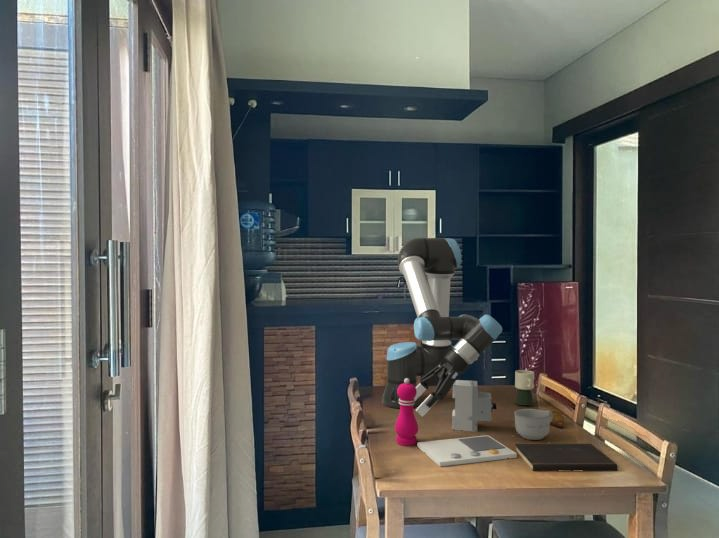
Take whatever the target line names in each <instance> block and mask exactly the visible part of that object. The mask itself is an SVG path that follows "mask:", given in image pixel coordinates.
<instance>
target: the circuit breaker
mask: <svg viewBox="0 0 719 538" xmlns="http://www.w3.org/2000/svg"><path fill="white" fill-rule="evenodd" d="M478 387H479V384H478V381H477V380H463V379H462V380H461V379H457V380H456V381H455V382H454V384H453V385H452V395H451V396H452V397H451V398H452V399H454V409H452V415H451V416H452V417H451V430H452V431H460V430H463V431H464V432H474V431H477V432H478V421H481V422H492V413H493V410H497V403H495V402H493V400H492V393H491V392H485V391H478V389H479V388H478ZM453 429H455V430H453ZM463 431H462V432H463Z"/></svg>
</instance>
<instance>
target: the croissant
mask: <svg viewBox="0 0 719 538" xmlns="http://www.w3.org/2000/svg"><path fill="white" fill-rule="evenodd" d="M548 411H551V412H552V415H553V418H552V421H551V422H550V423H549V425H552V426H553V427H555V426H556V427H555V428H558V429H563V428H564V426H565V417H564V415H563V413H562V411H559V410H557V409H555V408H554V409H550V410H548Z"/></svg>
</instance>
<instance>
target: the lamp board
mask: <svg viewBox="0 0 719 538" xmlns="http://www.w3.org/2000/svg"><path fill="white" fill-rule="evenodd" d="M416 444H417V447H418V448H419V449H420V450H421V451H422V452H423V453H424V452H425V453H426V454H425V453H424V454H425V455H426V456H428V458H430V459H431V460H432V461H433V462H434V463H435V464H436V465H438V466H439V467H440V468H441V467H448V466H455V465H464V464H473V463H474V464H475V463H482V462H488V461H489V462H490V461H499V460H500V461H501V460H507V458H509V459H516V458H518V456H517V455H518V454H517V453H518V452H516V451H513V450H512V449H511V448H510V447H507V446H506V445H504V444H502V443H501V442H499V441H498V440H496V439H495V438H493V437H492V436H490V435H489V434H488V435H475V436H466V437H457V438H448V439H438V440H437V439H436V440H427V441H420V442H419V441H418V442H417V443H416Z"/></svg>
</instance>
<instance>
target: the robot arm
mask: <svg viewBox="0 0 719 538" xmlns="http://www.w3.org/2000/svg"><path fill="white" fill-rule="evenodd" d="M461 252H462V251H461V248H460V245H459V244H458V242H457V240H455V239H453V238H449V237H448V238H447V237H446V238H445V237H414V238H412V239H410V240H408V241H407V242H406V243H404V244H403V246H402V247H401V249H400V250H399V252H398V255H397V266H398V269H399V272H400V274H401V275H403V276H404V279H405V281H406V282H405V283H406V286H407V288H408V291H409V295H410V298H411V301H412V304H413V307H414V308H413V309H414V310H415V313H416V318H415V320H414V323H413V331H414V337H415V339H417V340H418V341H421V345H418V344H417V342H414V341H409V342H408V341H405V342H398V343H394V344H391V345H390V346H388V347H387V351H386V385H385V389H384V392H383V394H382V399H381V400H382V401H381V404H382V405H383V406H385V407H389V408H394V409H400V404H399V398H400V397H399V396H398V394H397V389H398V387H399V385H401V384H403V383H404V379H406V378H408V379H409V380H410V382H409V383H410V384H413V385H414V386H415V388H416V391H417V393H416V396H415V397H414V399H415V404H414V405H413V407H414V408H416V409H415V411H416V413H418V415H420V416H421V417H424V416H425V415H426V414H427V413H428V412H429V410H431V408H432V407H434V406H435V404H436V403H437V402H439V401H441V402H442V401H444V400H445V399H446V396H447V395H448V393H449V392H450V391H451V388H453V384H454V382H455V381H456V380H459V378H460V375H462V374H464V373H465V372H466V371H467V370H468V369H469V368H470V367H469V366H470V365H472V364H473V363H474V362H475V361H478V360H479V359H478V358H479V357H480V356H481V355H482V354H483V353H484V352H486V350H487V349H488V347H490V345H492V343H493V342H494V341H496V340H497V338H498V337H499V336H500V334H501V333H502V332H503V327H502V325H501V324H500V323H499V322H498V321H497V320H496V319H495V318H493V316H491V315H489V314H484V315H483V316H481V317H480V318H479V319H478V318H476V317H475V316H473V315H470V314H461V315H459V316H450V295H451V294H450V293H451V278H452V277H453V276H454V275H455V274H456V273H455V272H456V270H457V269H459V268H460V267H461V264H462V254H461ZM452 341H457V343H456V344H455V345H452ZM459 374H460V375H459ZM418 377H420V379H419V381H420V382H419V384H418V383H417V381H418ZM435 383H437V385H436V386H435V389H434V390H433V391H432V392H430V394H429V395H428V396H427V397H426V398H424V400H423V401H422V397H421V396H422V395H423V394H424V393H425V392H426V390H428V389H429V387H430V386H431V385H433V384H435ZM417 406H418V407H417Z"/></svg>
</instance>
